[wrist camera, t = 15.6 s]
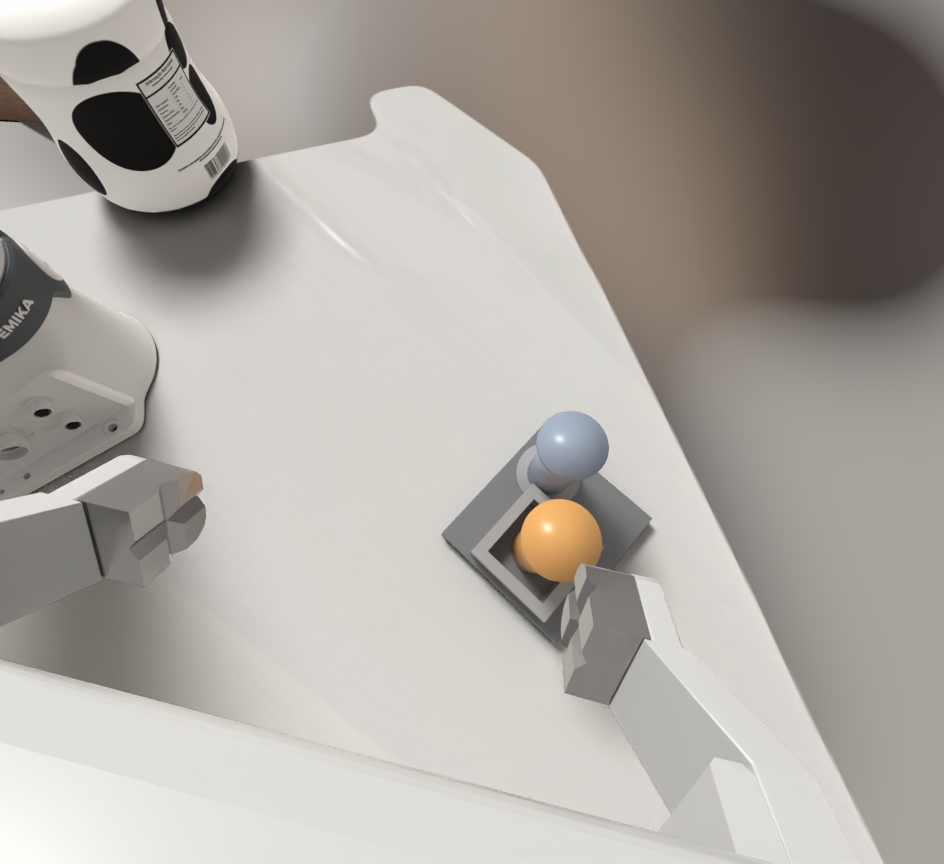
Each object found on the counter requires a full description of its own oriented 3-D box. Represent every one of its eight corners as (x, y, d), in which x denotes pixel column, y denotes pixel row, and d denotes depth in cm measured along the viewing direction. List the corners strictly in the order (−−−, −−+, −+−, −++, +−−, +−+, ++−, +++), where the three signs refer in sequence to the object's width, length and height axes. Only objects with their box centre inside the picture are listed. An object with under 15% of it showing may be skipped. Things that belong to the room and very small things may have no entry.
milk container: (99, 133, 55) (-62, -70, 38) (241, 111, 57) (149, -91, 40) (100, 241, 49) (-87, 62, 32) (257, 212, 51) (158, 29, 34)
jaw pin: (537, 594, 37) (567, 600, 27) (492, 551, 38) (504, 540, 28) (575, 548, 39) (618, 537, 28) (530, 508, 40) (556, 482, 29)
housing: (551, 641, 37) (586, 663, 27) (442, 535, 40) (436, 518, 30) (646, 520, 41) (708, 499, 31) (540, 429, 44) (564, 383, 33)
